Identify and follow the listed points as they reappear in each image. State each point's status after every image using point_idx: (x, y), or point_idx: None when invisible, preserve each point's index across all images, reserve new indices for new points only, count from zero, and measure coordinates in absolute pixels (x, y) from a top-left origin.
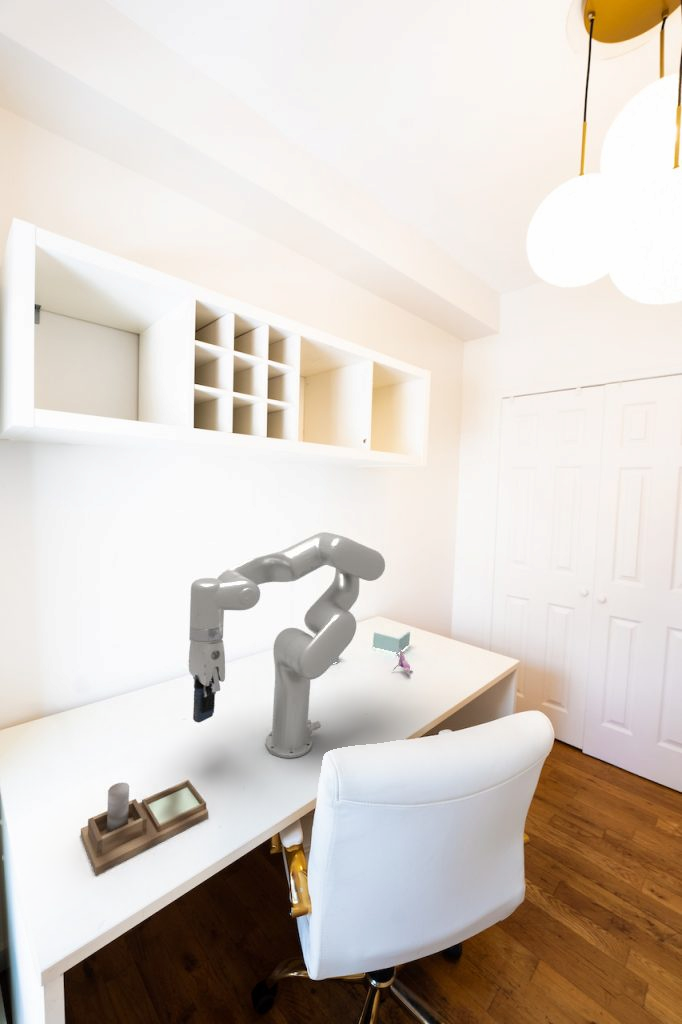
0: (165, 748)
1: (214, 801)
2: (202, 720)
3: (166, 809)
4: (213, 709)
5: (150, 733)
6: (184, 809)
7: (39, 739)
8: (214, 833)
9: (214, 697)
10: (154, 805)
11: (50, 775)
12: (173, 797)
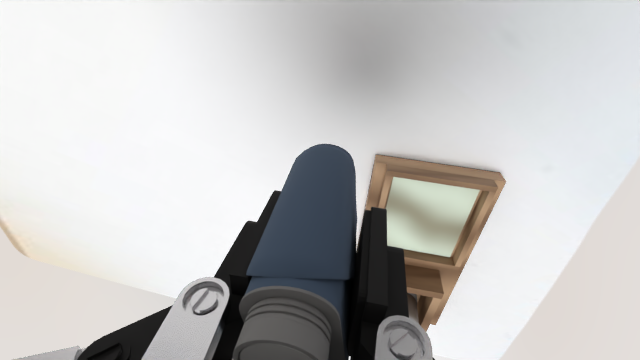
0: (198, 109)
1: (471, 133)
2: (356, 212)
3: (419, 230)
4: (352, 174)
5: (115, 104)
6: (453, 211)
7: (75, 246)
8: (548, 187)
9: (386, 270)
10: (389, 236)
11: (185, 269)
12: (400, 206)
